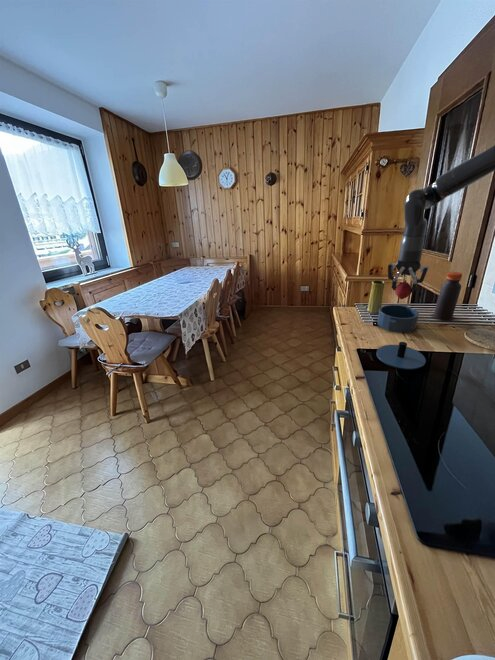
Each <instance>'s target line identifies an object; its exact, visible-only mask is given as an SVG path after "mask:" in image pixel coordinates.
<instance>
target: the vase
mask: <svg viewBox="0 0 495 660" xmlns="http://www.w3.org/2000/svg"><path fill="white" fill-rule="evenodd" d="M384 291H385V281H384V280H380V279H377V280H376V279H375V280H372V281H371V288H370V293H369V299H368V304H367V309H366V311H367V312H368V313H372V314H377V313H378V314H379V309H380V308H381V307H382V305H383V297H384Z"/></svg>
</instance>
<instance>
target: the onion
mask: <svg viewBox="0 0 495 660" xmlns="http://www.w3.org/2000/svg"><path fill="white" fill-rule="evenodd" d="M411 289H412V285H411V284H410V283H408V282H407V280H406V279H403V281H402V282H400V283H399V284H397V286H396V289H395V290H394V293H395V295H396V297H397V298H399V299H400V300H404V299H406V298H408V297H409V296H410V295H411V294H412V293H411Z"/></svg>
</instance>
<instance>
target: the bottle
mask: <svg viewBox="0 0 495 660" xmlns="http://www.w3.org/2000/svg"><path fill="white" fill-rule="evenodd" d="M462 277H463V273H461V272H459V271H458V272H457V271H449V272H447V274H446V281H445V282H442V284H441V287H440V290H439V294H438V298H437V301H436V304H435V305H436V306H435V309H434V313H433V318H434V319H436V320H439V321H443V322H445V321H446V322H449V321H452V320H453V316H454V314H455V309H456V307H457V303H458V301H459V296H460V295H461V294H460V293H461V290H462V284H461V283H460V282H461V280H462Z"/></svg>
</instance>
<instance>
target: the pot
mask: <svg viewBox="0 0 495 660" xmlns="http://www.w3.org/2000/svg"><path fill="white" fill-rule="evenodd" d="M418 319H419V312H418V310H417V309H414V308H412V307H409V306H407V305H406V304H386V305H383V306H381V308H380V309H379V313H378V316H377V325H378V326H379V327H380V328H382V329H384V330H387V331H391V332H395V333H408V332H413V331H414V330H415V329H416V327H417V324H418Z"/></svg>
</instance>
